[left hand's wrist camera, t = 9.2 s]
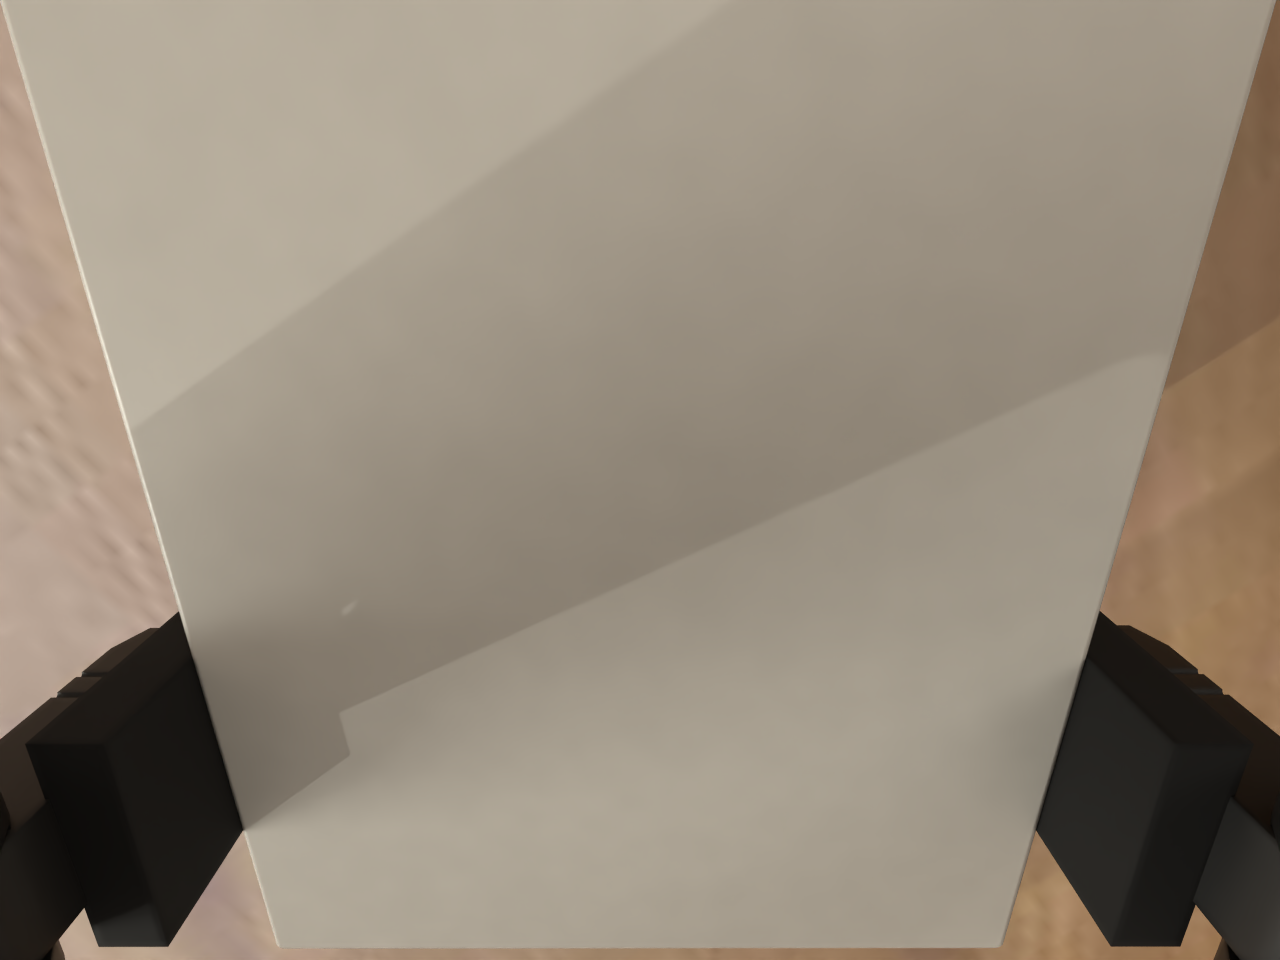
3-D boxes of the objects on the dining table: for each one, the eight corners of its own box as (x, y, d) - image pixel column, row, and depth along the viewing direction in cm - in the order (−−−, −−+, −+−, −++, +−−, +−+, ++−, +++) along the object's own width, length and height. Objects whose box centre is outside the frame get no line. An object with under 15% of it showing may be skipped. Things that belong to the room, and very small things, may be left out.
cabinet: (334, -244, 12) (-363, -1203, 4) (942, -244, 12) (1634, -1205, 4) (440, 599, 18) (275, 951, 10) (838, 599, 18) (1004, 951, 10)
